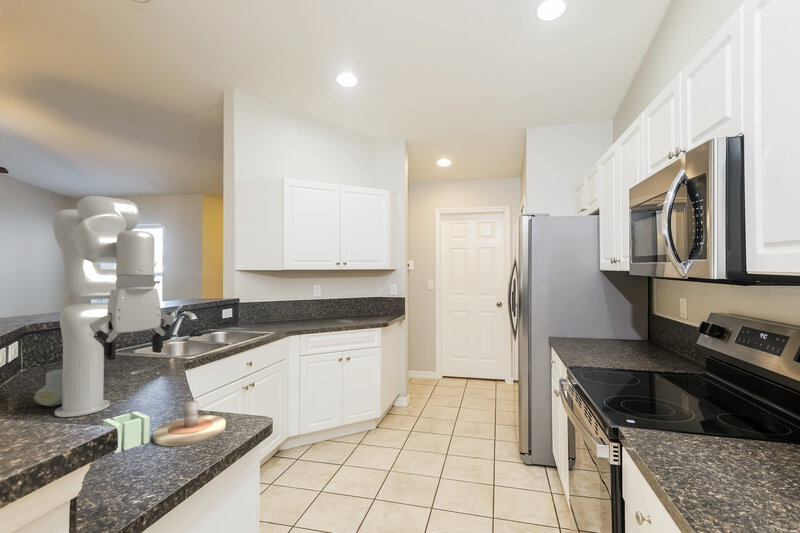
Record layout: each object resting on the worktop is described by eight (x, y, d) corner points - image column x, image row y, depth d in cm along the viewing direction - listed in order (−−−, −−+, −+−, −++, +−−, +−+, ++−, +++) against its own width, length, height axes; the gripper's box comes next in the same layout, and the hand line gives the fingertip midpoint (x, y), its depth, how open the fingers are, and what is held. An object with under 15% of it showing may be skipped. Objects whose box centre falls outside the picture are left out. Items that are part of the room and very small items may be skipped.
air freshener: (28, 408, 117) (28, 374, 117) (53, 399, 125) (53, 368, 125) (64, 407, 116) (64, 374, 117) (86, 398, 125) (86, 367, 125)
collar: (102, 445, 90) (103, 419, 90) (136, 435, 96) (136, 411, 96) (115, 453, 86) (115, 426, 86) (149, 442, 92) (149, 416, 92)
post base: (141, 436, 95) (141, 405, 95) (204, 416, 108) (204, 389, 109) (173, 452, 86) (174, 418, 86) (238, 428, 100) (238, 399, 100)
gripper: (166, 282, 101) (165, 348, 100) (84, 283, 86) (83, 360, 86) (180, 282, 97) (180, 351, 96) (97, 283, 82) (96, 364, 81)
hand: (134, 355), depth 91 cm, fingers open, 9 cm apart
